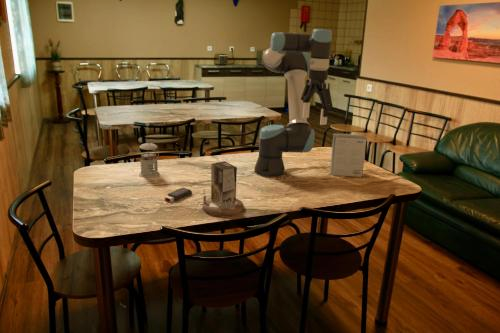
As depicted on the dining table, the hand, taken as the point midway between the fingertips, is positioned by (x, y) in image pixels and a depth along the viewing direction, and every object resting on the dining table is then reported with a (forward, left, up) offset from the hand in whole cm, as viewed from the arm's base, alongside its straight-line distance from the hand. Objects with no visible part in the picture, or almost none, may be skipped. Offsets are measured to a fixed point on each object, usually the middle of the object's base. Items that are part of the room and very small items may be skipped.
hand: (314, 121), depth 171 cm
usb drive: (-11, -56, -32) cm, 66 cm away
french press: (-43, -61, -32) cm, 81 cm away
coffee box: (+5, -42, -30) cm, 52 cm away
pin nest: (+5, -42, -32) cm, 53 cm away
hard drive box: (-14, +31, -32) cm, 47 cm away
